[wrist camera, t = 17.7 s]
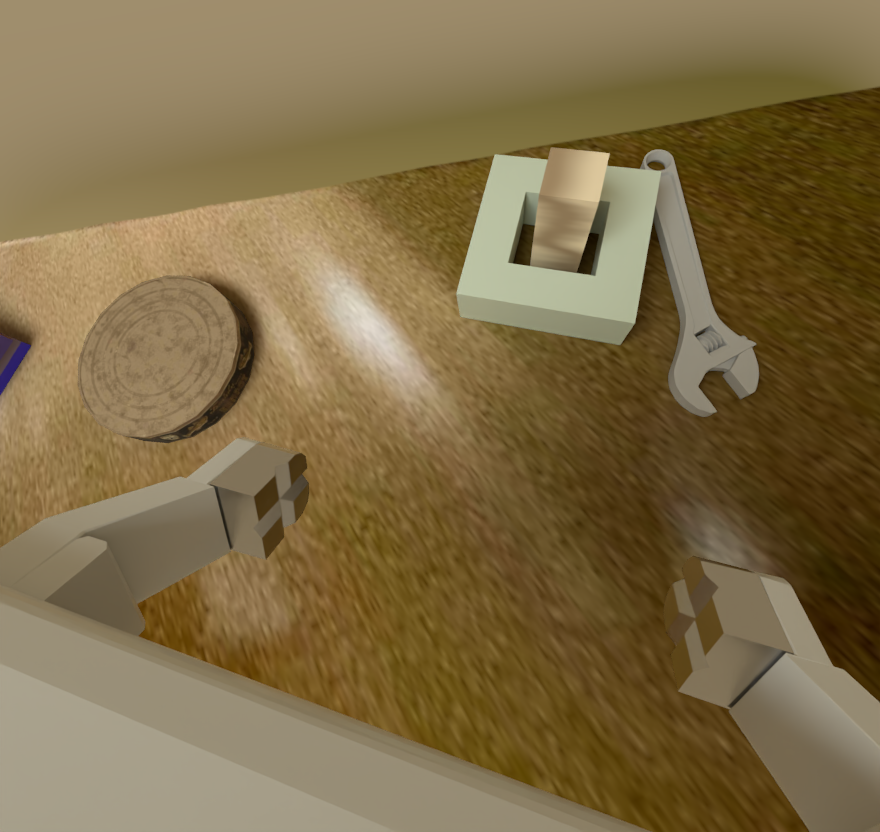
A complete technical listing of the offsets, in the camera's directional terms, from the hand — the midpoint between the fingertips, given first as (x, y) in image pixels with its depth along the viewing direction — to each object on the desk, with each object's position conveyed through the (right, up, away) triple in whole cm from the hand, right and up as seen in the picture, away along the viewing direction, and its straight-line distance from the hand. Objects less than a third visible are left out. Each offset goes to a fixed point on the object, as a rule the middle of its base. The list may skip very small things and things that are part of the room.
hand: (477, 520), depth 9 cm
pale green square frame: (+10, +16, +29) cm, 35 cm away
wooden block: (+10, +16, +29) cm, 35 cm away
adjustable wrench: (+21, +14, +28) cm, 38 cm away
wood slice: (-26, +7, +32) cm, 42 cm away
